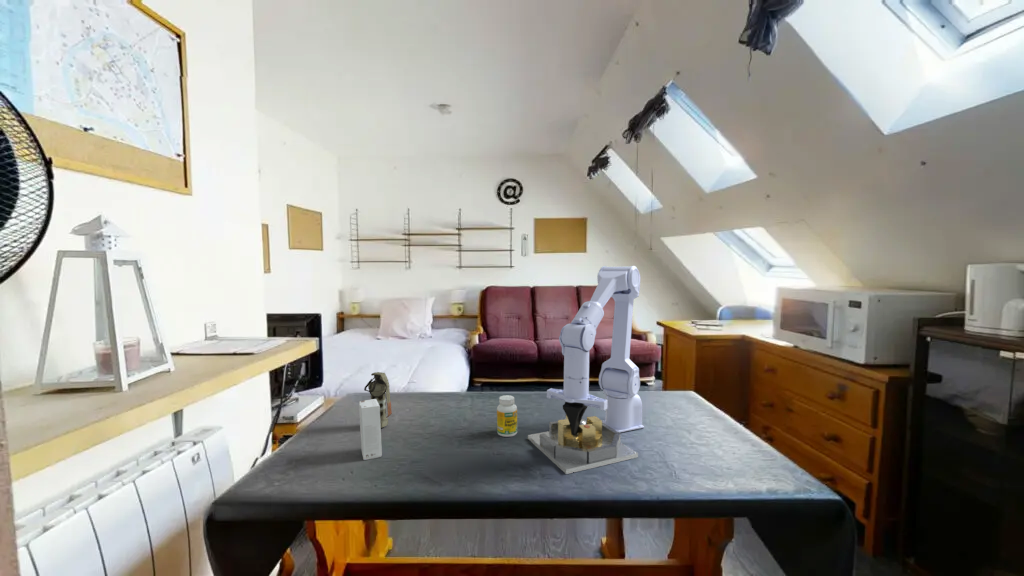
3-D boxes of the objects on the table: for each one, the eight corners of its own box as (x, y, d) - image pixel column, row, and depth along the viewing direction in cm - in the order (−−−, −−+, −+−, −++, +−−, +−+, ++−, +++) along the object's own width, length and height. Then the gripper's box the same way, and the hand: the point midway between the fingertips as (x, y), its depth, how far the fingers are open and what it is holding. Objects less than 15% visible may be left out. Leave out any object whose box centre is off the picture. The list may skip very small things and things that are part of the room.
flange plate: (590, 427, 108) (590, 403, 108) (637, 457, 90) (638, 429, 90) (527, 438, 101) (527, 413, 100) (566, 474, 83) (566, 443, 83)
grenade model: (360, 431, 106) (359, 376, 105) (378, 421, 112) (377, 370, 112) (380, 434, 104) (378, 378, 103) (397, 425, 110) (396, 372, 109)
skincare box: (382, 457, 91) (381, 405, 91) (362, 461, 89) (360, 408, 89) (379, 446, 97) (378, 397, 96) (359, 450, 95) (358, 400, 94)
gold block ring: (553, 436, 99) (553, 414, 99) (589, 432, 102) (589, 410, 101) (568, 454, 89) (568, 429, 89) (608, 448, 92) (608, 425, 92)
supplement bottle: (510, 427, 108) (510, 393, 108) (521, 434, 104) (521, 398, 103) (493, 432, 105) (493, 396, 105) (504, 439, 101) (503, 402, 100)
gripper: (540, 374, 92) (539, 431, 92) (599, 385, 83) (597, 448, 84) (555, 368, 97) (554, 422, 98) (611, 378, 89) (610, 437, 90)
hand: (575, 433), depth 91 cm, fingers closed, pressing on gold block ring
